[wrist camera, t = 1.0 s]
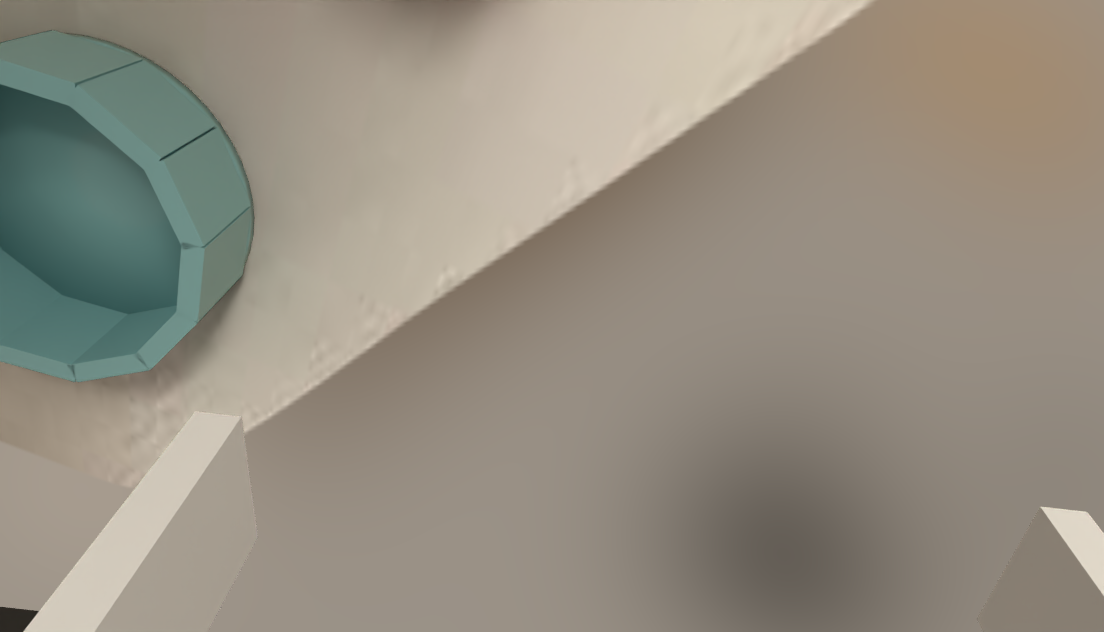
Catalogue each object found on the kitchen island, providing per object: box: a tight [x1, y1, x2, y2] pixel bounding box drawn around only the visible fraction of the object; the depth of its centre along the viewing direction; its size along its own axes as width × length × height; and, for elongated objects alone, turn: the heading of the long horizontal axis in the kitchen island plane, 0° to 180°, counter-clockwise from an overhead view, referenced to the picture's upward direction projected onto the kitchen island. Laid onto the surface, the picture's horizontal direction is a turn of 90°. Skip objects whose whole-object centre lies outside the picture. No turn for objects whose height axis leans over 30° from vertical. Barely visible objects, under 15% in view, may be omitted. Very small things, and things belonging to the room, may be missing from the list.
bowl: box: [0, 30, 254, 382], centre depth 35 cm, size 15×15×6 cm
